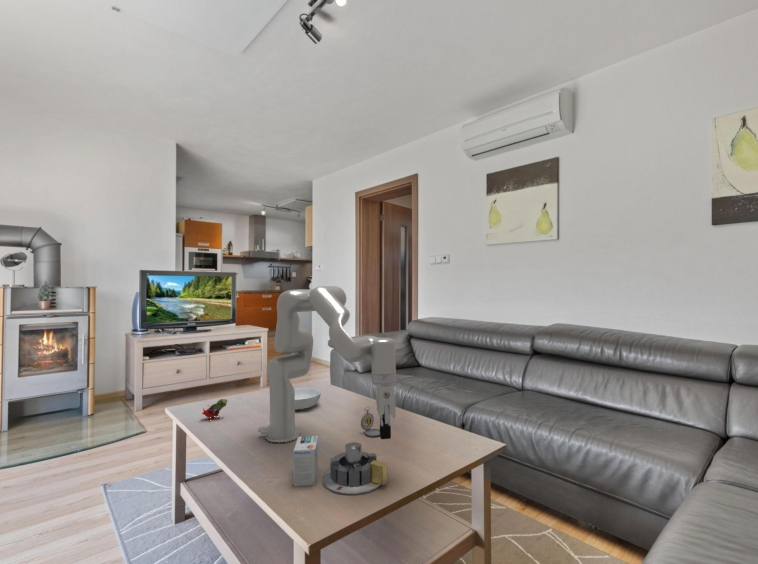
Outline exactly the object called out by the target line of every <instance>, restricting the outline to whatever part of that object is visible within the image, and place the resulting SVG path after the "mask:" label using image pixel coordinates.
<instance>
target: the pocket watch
mask: <svg viewBox="0 0 758 564" xmlns="http://www.w3.org/2000/svg"><path fill="white" fill-rule="evenodd" d="M367 408H368V409H367ZM369 411H370V407H369V406H366V407H365V408H364V412H366V413H364V414H363V416H362V417H361V419H360V427H361V429H363V430H364V431H365V433H364V434H365V435H366V436H368V437H378V436H379V437H380V428H372V427H373V426H374V422H375V418H374V415H373V414H372V413H370V412H369Z"/></svg>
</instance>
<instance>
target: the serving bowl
mask: <svg viewBox="0 0 758 564" xmlns="http://www.w3.org/2000/svg"><path fill="white" fill-rule="evenodd" d="M293 388H294V387H293ZM294 391H295V411H299V410H298V409H302V410H305V408H306V409H308V408H311V407H313V406H315V405H317V403H318V402H319V401H320V398H321V394H322V392H321V390H320V389H318V388H314V387H295V388H294Z"/></svg>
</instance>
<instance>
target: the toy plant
mask: <svg viewBox="0 0 758 564" xmlns="http://www.w3.org/2000/svg"><path fill="white" fill-rule="evenodd" d="M227 403H228V399H227V398H221V399H218V401H217V402H216V403H213V404H211V406H209V404H207V407H209V408H207V409H206V410H205V408H202V409H203V412H202V415H204V416H205V417H206V418H207V417H209V418H208V419H211V418H210V417H213V418H214V416H216V417H217V416H219V414H220V411H221V410H222V409H223V408H226V406H227Z"/></svg>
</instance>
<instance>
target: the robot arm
mask: <svg viewBox="0 0 758 564" xmlns="http://www.w3.org/2000/svg"><path fill="white" fill-rule="evenodd" d="M346 304H347V295H346V292H345V291H344V289H342V287H340V286H333V285H331V286H327V285H326V286H325V285H323V286H317V287H314V288H312V289H311V288H309V289H305V288H303V289H302V288H301V289H299V288H298V289H289V290H286V291H285V290H284V291H283V292H282V293H280V295H279V296H278V298H277V302H276V312H277V313H276V314H277V318H276V319H277V320H276V328H275V334H274V344H273V345H274V346H273V347H274V350H275V352H277V354H280V355H281V356H275V357H274V358H272V359H270V361H268V363H267V366H266V373H267V378H268V384H269V386H268V387H269V425H267V426H259V427H258V433H260V434H266V435H265V440H266V439H267V440H268V441H267V440H266V441H267V442H269V441H271V442H270V443H272V442H279V443H278V444H283V443H282V442H285V443H289V441H290V442H292V440H293V441H295V440H297V439H296V438H297V437H300V432H299V431H298V429H296V410H295V391H294V386H293V384H292V382H291V381H290V380H293V379H296V378H300V377H304V376H305V375H307V374H308V373H309V371H310V368H311V362H312V357H313V350H314V336H313V333H312V332H311V330H309V329H308V328H306V327H300V323H301V322H300V317H299V314H298V313H304V312H305V313H306V312H307V313H308V312H316V313H317V314H318V315H319V316H320V318H321V319H322V320H323V321H324V322H325V324H327V326H328V327H329V328H328V336H329V340H330V341H329V342H330V343H331V346H332V347H333V349H334V350H335V351H336V353H338V355H339V356H340V357H341V359H343V360H344V361H346V362H348V363H353V364H354V363H358V362H362V361H366V360H371V361H370V362H371V384H372V385H373V386H375V402H376V404H375V405H376V412H377V414H378V417H379V430H380V435H379V437H380V440H391V438H392V437H391V436H392V431H391V429H392V428H391V426H392V425H391V418H393V419H395V418H396V416H397V412H396V397H395V387H394V385H396V384H397V371H396V370H397V368H396V367H397V365H396V364H397V362H396V341H395V340H394V339H393V338H391V337H378V336H374V335H365V336H364V335H362V336H356V337H352V336H351V335H349V334H348V332H347V331H346V330H345V328H344V326H346V324H347V323H348V321H349V319H350V317H351V313H350V311H349V310H348V309H347V307H346V306H345V305H346ZM280 442H281V443H280Z"/></svg>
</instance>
